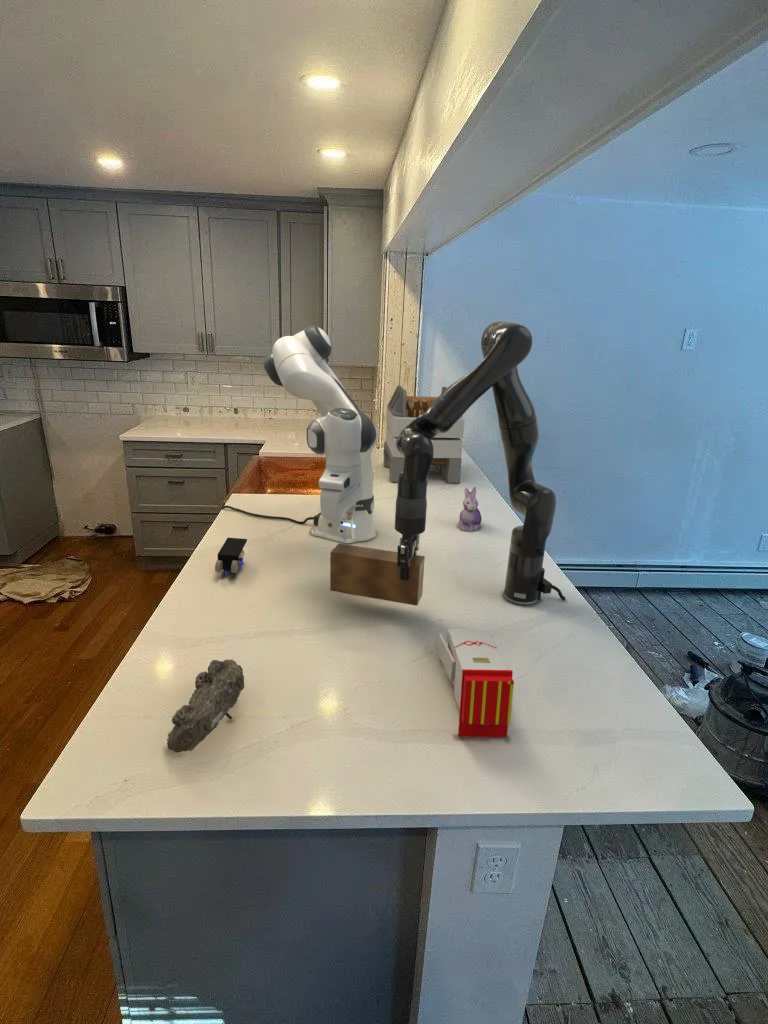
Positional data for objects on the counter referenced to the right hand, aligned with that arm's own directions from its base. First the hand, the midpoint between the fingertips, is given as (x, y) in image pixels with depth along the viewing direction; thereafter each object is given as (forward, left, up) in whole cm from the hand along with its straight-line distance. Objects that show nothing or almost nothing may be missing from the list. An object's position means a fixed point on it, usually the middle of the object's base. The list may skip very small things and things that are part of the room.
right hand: (407, 574), depth 143 cm
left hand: (+13, -14, +9) cm, 21 cm away
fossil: (+50, +25, -12) cm, 57 cm away
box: (+6, -5, -7) cm, 10 cm away
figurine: (-47, -52, -12) cm, 71 cm away
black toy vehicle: (+40, -38, -12) cm, 56 cm away
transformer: (-58, -123, -12) cm, 137 cm away
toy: (-1, +33, -12) cm, 35 cm away
